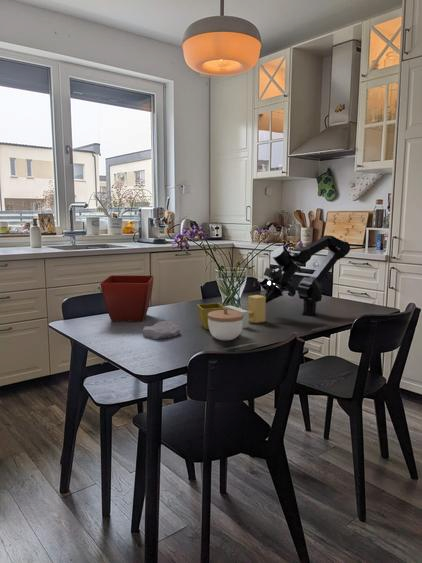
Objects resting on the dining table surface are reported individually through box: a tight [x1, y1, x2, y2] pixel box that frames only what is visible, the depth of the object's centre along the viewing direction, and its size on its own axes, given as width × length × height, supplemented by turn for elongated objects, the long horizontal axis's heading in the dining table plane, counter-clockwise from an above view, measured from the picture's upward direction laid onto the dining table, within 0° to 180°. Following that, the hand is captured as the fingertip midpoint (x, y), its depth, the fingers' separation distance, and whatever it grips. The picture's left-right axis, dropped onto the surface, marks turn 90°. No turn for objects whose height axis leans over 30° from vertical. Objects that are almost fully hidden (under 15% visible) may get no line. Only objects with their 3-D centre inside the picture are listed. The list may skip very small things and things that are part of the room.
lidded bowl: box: [208, 308, 243, 341], centre depth 156 cm, size 13×13×11 cm
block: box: [247, 294, 267, 324], centre depth 176 cm, size 8×5×10 cm, turn 122°
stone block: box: [142, 320, 181, 340], centre depth 161 cm, size 12×5×10 cm
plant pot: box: [100, 274, 154, 323], centre depth 184 cm, size 19×19×17 cm
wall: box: [224, 305, 250, 329], centre depth 172 cm, size 3×12×6 cm, turn 32°
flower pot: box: [196, 302, 225, 330], centre depth 169 cm, size 9×9×9 cm
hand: (264, 302), depth 179 cm, fingers closed
